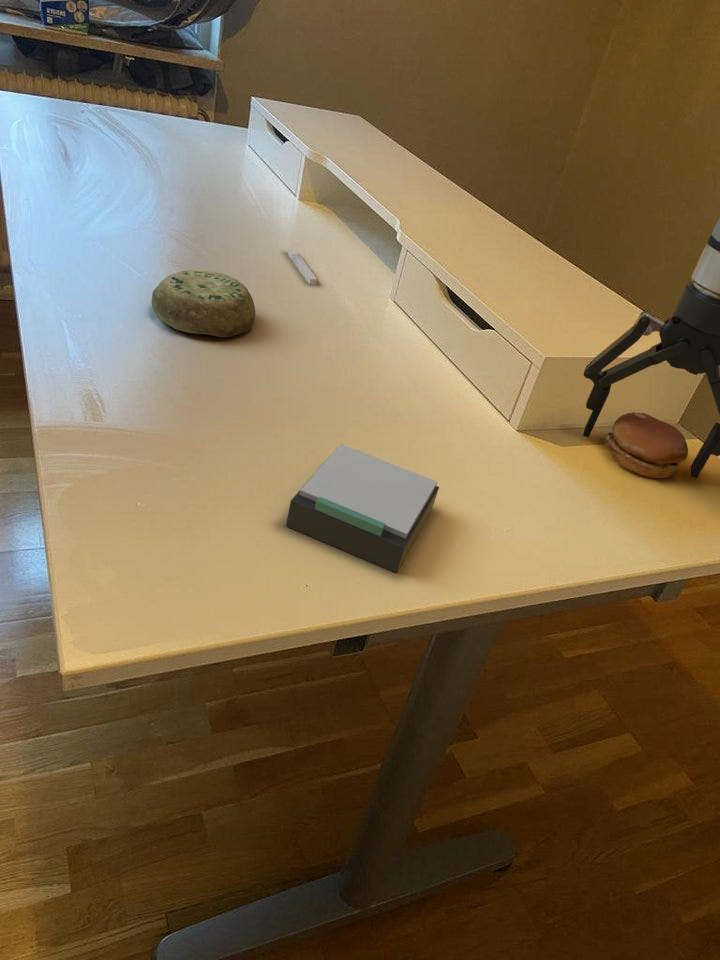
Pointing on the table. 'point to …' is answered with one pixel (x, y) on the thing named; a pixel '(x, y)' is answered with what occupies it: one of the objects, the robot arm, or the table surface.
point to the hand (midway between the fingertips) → (639, 452)
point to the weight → (204, 303)
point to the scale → (364, 506)
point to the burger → (646, 445)
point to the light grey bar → (302, 267)
